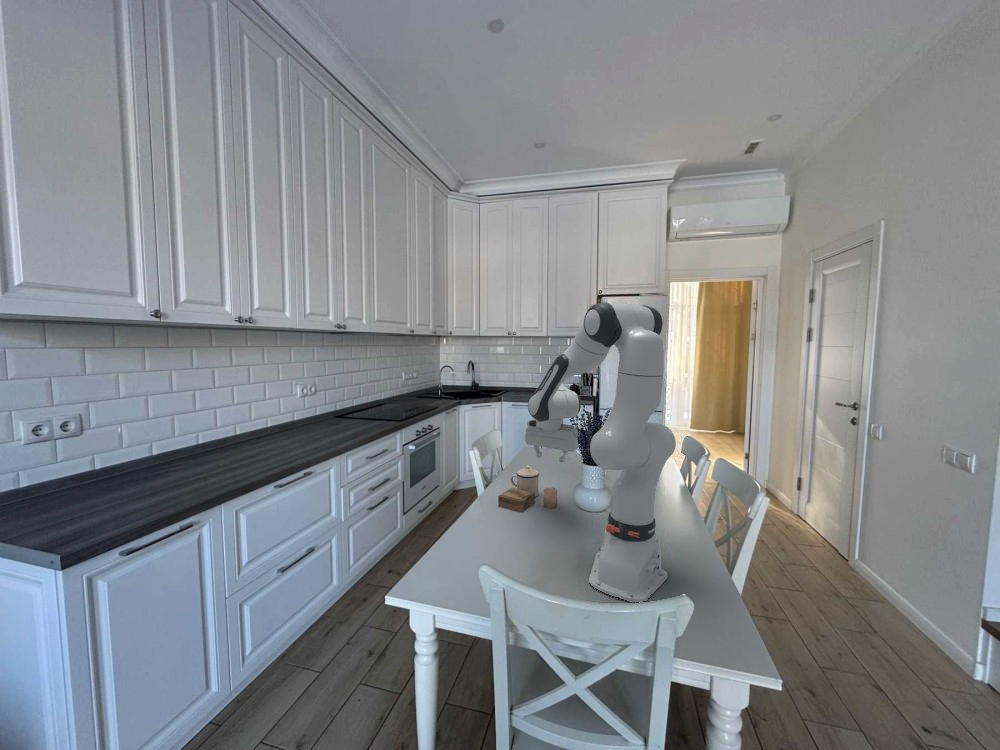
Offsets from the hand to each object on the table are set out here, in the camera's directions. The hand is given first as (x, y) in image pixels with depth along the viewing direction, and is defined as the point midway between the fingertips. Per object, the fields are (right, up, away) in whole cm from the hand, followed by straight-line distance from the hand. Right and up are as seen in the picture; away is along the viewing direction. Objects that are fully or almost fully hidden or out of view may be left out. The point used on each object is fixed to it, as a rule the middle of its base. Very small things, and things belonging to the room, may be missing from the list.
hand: (550, 459), depth 146 cm
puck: (0, -18, +1) cm, 18 cm away
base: (-12, -18, +2) cm, 22 cm away
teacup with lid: (-9, -17, +13) cm, 23 cm away
